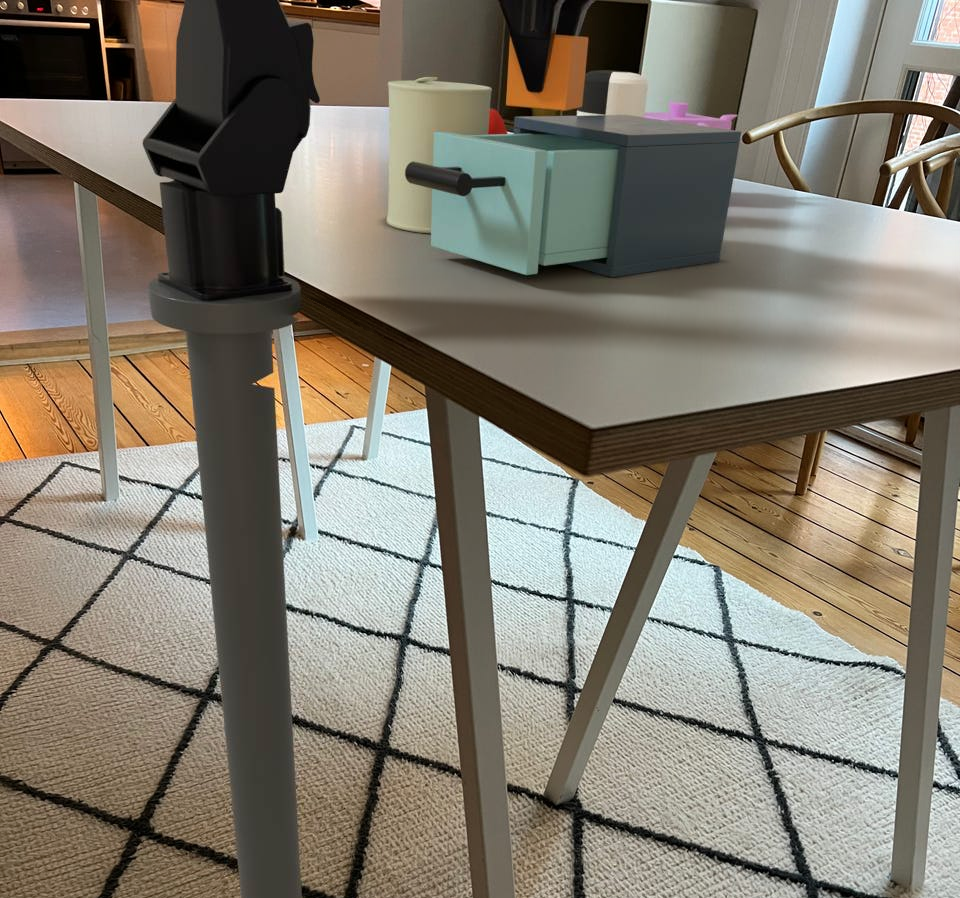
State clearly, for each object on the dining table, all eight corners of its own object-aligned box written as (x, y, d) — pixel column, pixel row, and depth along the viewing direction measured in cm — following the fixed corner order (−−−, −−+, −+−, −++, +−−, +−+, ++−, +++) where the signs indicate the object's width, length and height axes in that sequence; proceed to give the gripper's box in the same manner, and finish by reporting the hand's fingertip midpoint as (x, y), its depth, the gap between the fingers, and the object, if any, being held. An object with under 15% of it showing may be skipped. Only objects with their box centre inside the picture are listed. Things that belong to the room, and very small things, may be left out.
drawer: (477, 282, 72) (483, 153, 67) (382, 251, 79) (383, 133, 74) (639, 259, 82) (654, 146, 77) (542, 234, 89) (551, 128, 84)
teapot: (683, 184, 127) (697, 97, 122) (758, 202, 118) (775, 108, 113) (567, 188, 119) (576, 94, 114) (636, 208, 109) (650, 106, 104)
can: (453, 213, 100) (458, 75, 94) (503, 231, 93) (513, 84, 87) (369, 218, 96) (369, 73, 89) (416, 236, 89) (419, 81, 83)
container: (546, 213, 103) (558, 67, 96) (592, 207, 108) (607, 68, 101) (606, 226, 99) (624, 74, 92) (651, 219, 104) (671, 74, 97)
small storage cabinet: (611, 277, 80) (629, 135, 74) (505, 247, 87) (514, 116, 82) (719, 261, 87) (741, 131, 82) (612, 234, 95) (627, 114, 90)
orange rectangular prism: (565, 111, 72) (571, 37, 69) (505, 105, 73) (509, 32, 70) (582, 107, 75) (588, 37, 73) (525, 102, 76) (529, 33, 74)
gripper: (659, -212, 56) (623, 107, 64) (713, -160, 71) (678, 93, 79) (470, -212, 59) (459, 93, 67) (560, -162, 74) (542, 82, 82)
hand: (544, 90), depth 73 cm, fingers closed on orange rectangular prism, 4 cm apart
